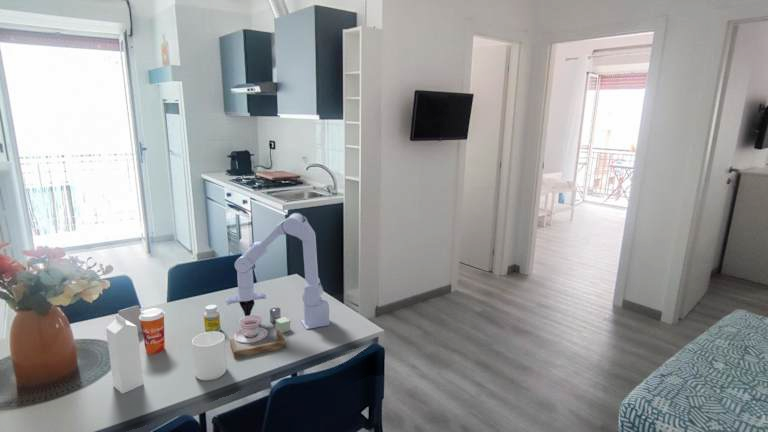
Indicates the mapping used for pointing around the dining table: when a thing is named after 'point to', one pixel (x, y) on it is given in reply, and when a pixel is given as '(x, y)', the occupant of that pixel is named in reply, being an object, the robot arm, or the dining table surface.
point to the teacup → (250, 330)
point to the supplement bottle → (212, 318)
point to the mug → (209, 355)
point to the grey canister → (274, 314)
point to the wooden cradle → (258, 347)
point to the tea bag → (132, 316)
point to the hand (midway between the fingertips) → (247, 318)
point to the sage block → (282, 324)
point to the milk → (124, 355)
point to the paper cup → (153, 330)
